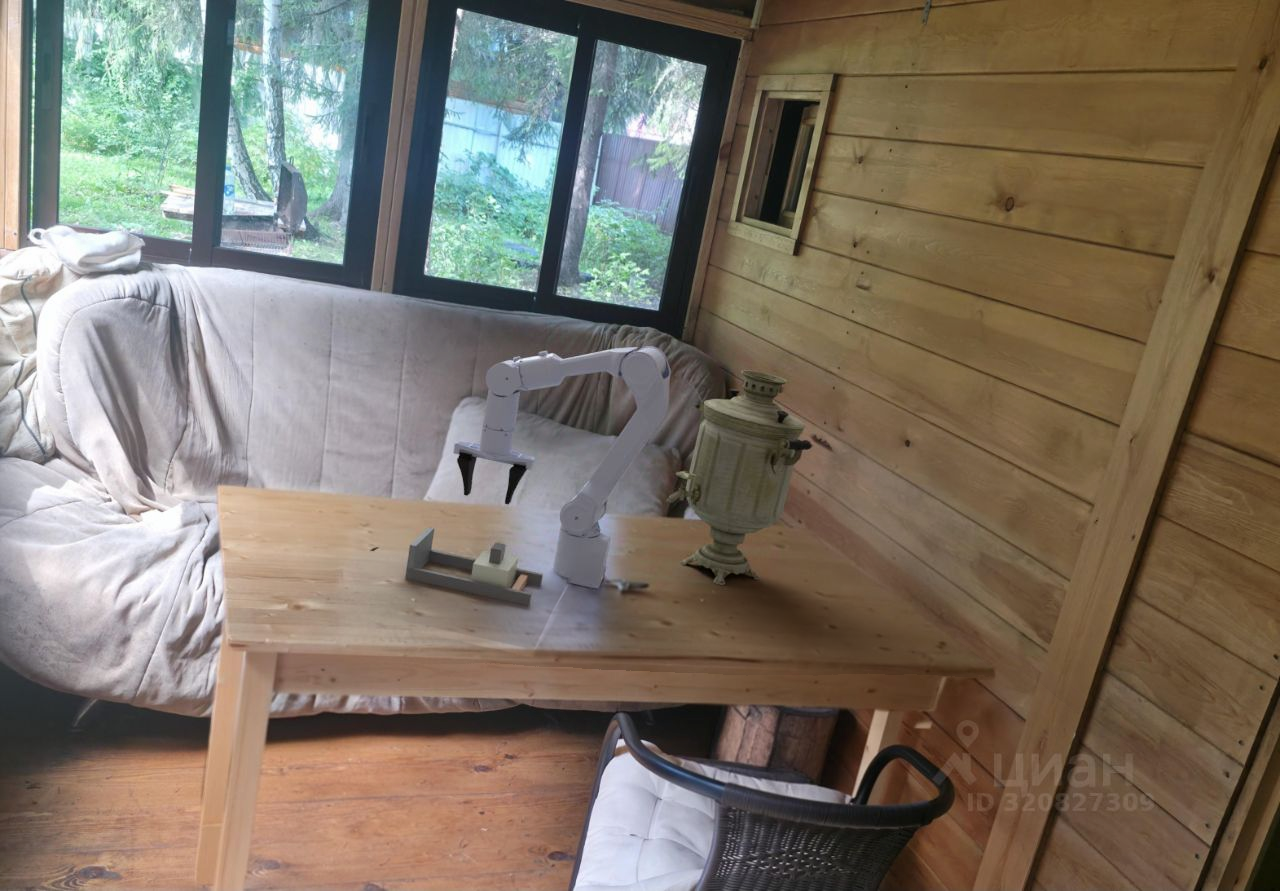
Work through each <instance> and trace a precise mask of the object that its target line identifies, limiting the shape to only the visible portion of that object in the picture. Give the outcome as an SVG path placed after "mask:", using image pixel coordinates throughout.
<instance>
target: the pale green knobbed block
mask: <svg viewBox="0 0 1280 891" xmlns="http://www.w3.org/2000/svg"><path fill="white" fill-rule="evenodd" d="M506 547H507V546H506V544H505V543H500V542H494V544H493V545H492V547H490V550H486V549H483V551H482V552H481V553H480V555H479V556H478V557H477V558H476V559H477V560H476V561H475V562H474V563H473V569H472V571H471V576H470V580H475V581H479V582H484V583H488V584H493V585H497V586H502V587H506V588H512V587H513V584H515V574H516V568H517V567H518V561H519V557H518V556H513V555H509V554H505V551H506Z"/></svg>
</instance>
